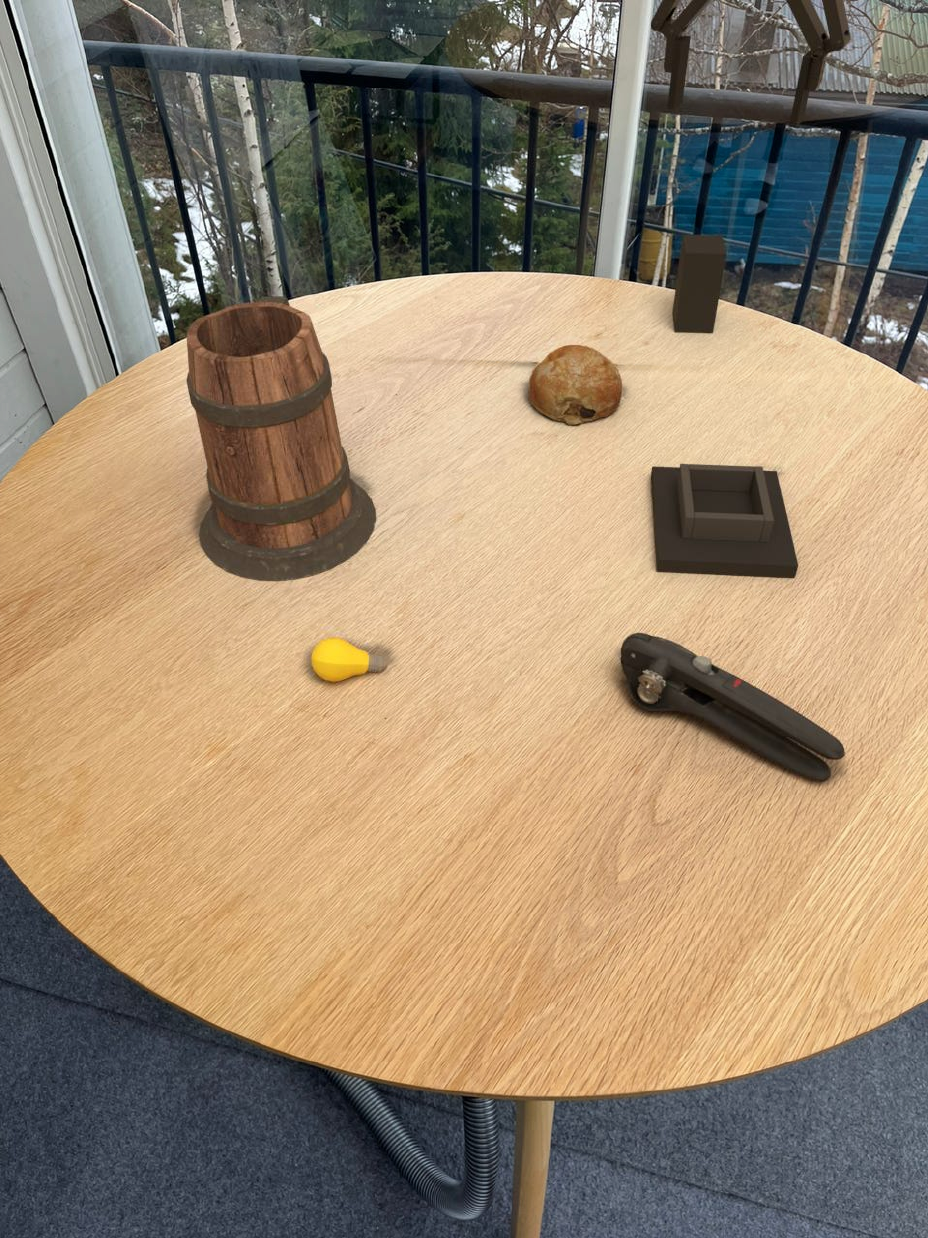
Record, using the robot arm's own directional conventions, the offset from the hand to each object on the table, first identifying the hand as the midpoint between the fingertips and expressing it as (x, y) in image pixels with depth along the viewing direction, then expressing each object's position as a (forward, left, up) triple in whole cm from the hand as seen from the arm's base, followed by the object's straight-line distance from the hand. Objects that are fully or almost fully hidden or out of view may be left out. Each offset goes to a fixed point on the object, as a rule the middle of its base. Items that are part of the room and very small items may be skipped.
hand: (733, 114), depth 102 cm
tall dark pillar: (+2, +6, -23) cm, 23 cm away
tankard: (+43, +42, -23) cm, 64 cm away
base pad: (+2, +43, -23) cm, 48 cm away
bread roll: (+16, +22, -23) cm, 35 cm away
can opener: (+4, +67, -23) cm, 71 cm away
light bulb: (+33, +64, -23) cm, 75 cm away
